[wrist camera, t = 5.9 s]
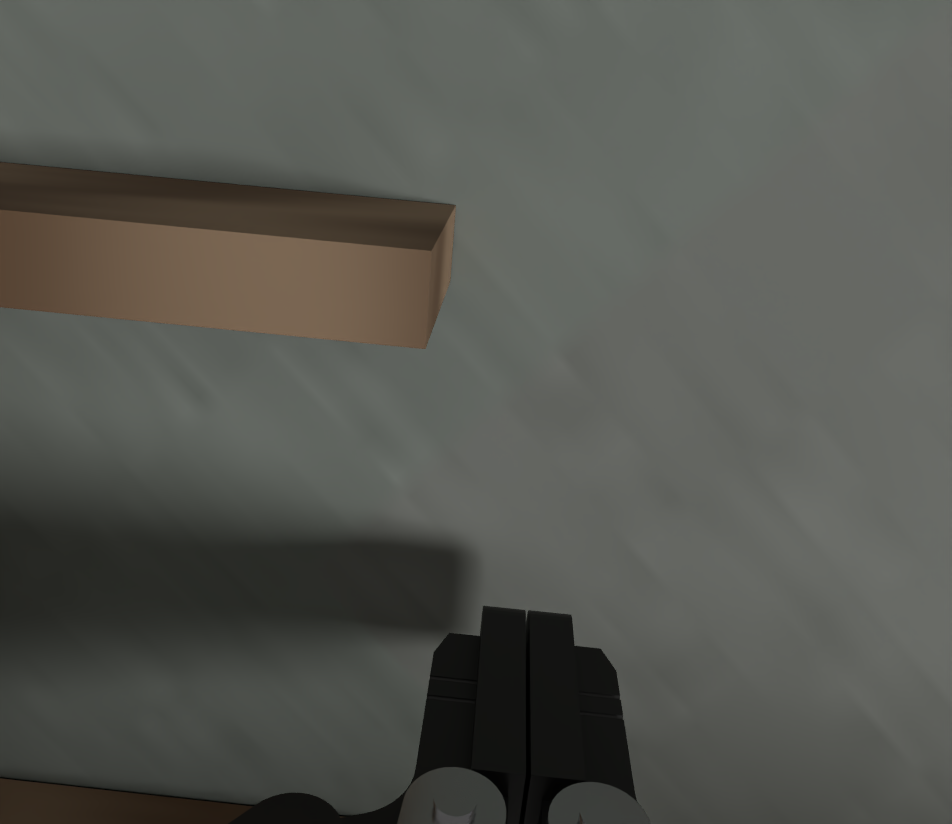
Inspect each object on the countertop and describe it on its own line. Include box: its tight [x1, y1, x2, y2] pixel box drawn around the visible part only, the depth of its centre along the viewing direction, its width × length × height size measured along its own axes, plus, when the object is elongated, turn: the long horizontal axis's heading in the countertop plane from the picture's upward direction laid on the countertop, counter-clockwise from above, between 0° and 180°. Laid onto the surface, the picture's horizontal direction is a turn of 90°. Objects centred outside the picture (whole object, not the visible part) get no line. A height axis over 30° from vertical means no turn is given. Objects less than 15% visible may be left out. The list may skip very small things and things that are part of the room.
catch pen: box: [0, 162, 456, 824], centre depth 13 cm, size 12×14×5 cm
